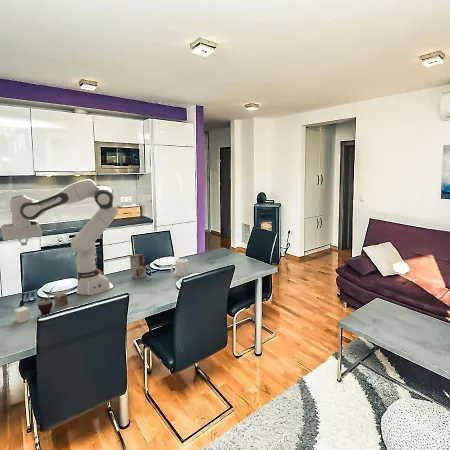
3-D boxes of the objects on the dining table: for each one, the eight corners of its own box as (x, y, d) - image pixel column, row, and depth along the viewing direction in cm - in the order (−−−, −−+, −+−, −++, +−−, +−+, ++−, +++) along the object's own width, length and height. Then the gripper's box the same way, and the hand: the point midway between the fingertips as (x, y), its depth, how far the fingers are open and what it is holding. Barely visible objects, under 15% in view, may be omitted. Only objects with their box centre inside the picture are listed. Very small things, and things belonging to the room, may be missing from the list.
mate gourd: (36, 315, 175) (32, 289, 173) (48, 309, 183) (45, 284, 180) (46, 317, 173) (43, 291, 170) (58, 311, 180) (55, 286, 177)
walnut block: (62, 301, 192) (61, 292, 191) (67, 303, 190) (66, 294, 189) (54, 304, 188) (53, 295, 187) (60, 306, 186) (59, 297, 185)
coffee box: (140, 273, 242) (139, 253, 239) (146, 275, 238) (145, 254, 235) (130, 277, 234) (129, 256, 231) (136, 278, 231) (135, 257, 228)
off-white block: (25, 316, 174) (24, 306, 173) (30, 318, 171) (29, 308, 170) (15, 320, 169) (14, 310, 168) (20, 322, 167) (19, 312, 166)
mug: (175, 278, 231) (174, 264, 229) (168, 274, 239) (168, 261, 237) (191, 274, 239) (190, 260, 237) (184, 270, 247) (184, 257, 245)
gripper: (0, 225, 180) (3, 249, 183) (41, 221, 192) (43, 243, 194) (-1, 224, 185) (3, 247, 188) (39, 220, 197) (42, 242, 199)
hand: (24, 245), depth 191 cm, fingers closed
